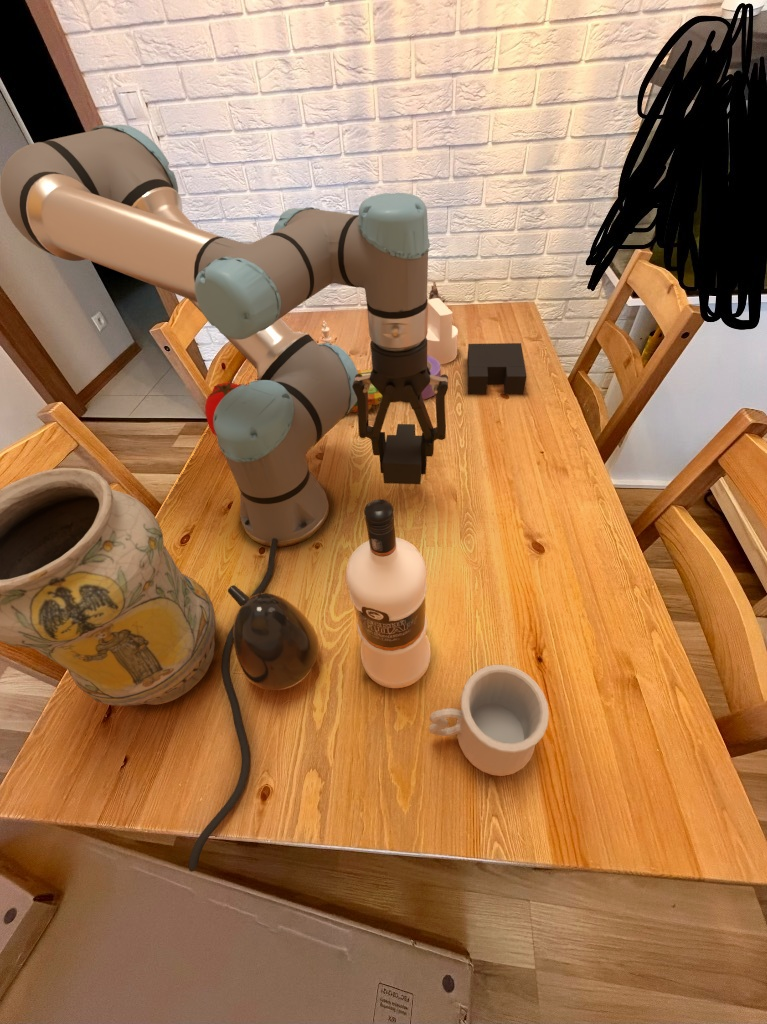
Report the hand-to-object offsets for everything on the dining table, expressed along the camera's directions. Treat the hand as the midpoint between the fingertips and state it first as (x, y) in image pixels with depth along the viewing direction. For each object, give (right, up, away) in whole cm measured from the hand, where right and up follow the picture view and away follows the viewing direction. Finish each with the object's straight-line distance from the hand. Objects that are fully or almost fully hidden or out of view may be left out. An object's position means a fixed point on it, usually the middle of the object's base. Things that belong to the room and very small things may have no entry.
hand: (403, 468), depth 77 cm
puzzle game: (-13, +17, +26) cm, 34 cm away
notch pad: (+22, +24, +28) cm, 43 cm away
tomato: (-32, +8, +20) cm, 38 cm away
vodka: (-2, -27, -15) cm, 31 cm away
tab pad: (0, +1, +1) cm, 2 cm away
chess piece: (-17, +31, +39) cm, 53 cm away
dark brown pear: (-17, -28, -14) cm, 36 cm away
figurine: (+11, +41, +46) cm, 62 cm away
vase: (-34, -28, -13) cm, 46 cm away
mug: (+8, -34, -22) cm, 42 cm away
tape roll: (+4, +21, +28) cm, 36 cm away
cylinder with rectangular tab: (+10, +31, +37) cm, 50 cm away
